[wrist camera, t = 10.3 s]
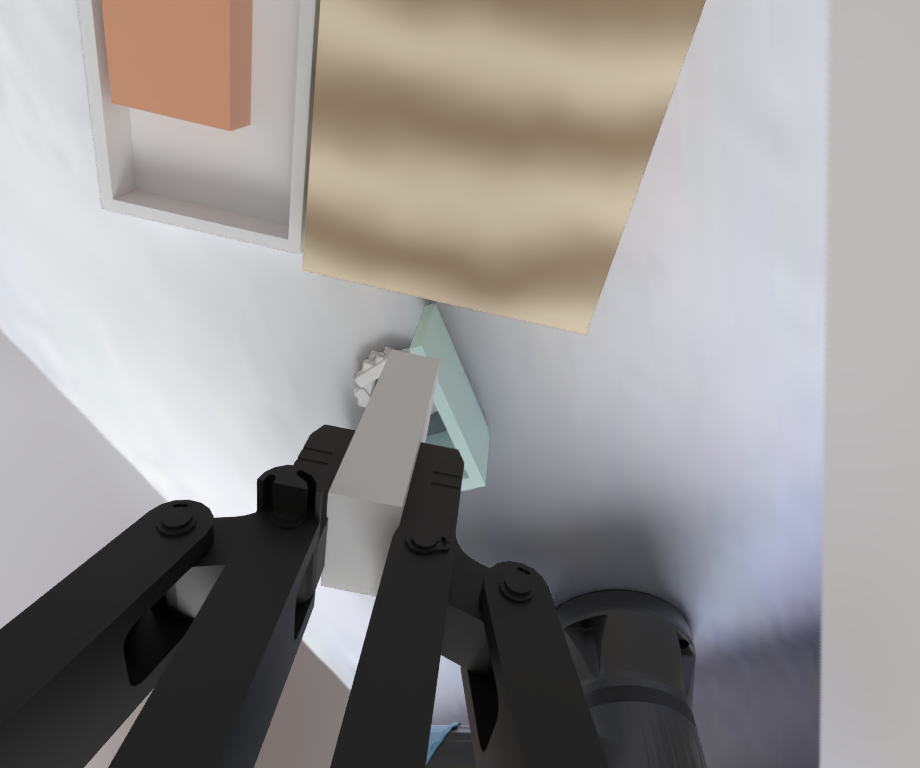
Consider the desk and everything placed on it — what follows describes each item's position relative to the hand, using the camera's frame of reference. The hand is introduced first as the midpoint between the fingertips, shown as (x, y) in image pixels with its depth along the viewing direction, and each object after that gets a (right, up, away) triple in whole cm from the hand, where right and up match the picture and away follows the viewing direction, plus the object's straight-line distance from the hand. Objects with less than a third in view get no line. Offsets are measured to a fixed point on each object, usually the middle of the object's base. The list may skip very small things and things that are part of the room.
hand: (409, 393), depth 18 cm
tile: (-15, +19, +14) cm, 28 cm away
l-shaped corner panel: (-4, 0, +30) cm, 30 cm away
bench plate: (+3, +17, +18) cm, 25 cm away
